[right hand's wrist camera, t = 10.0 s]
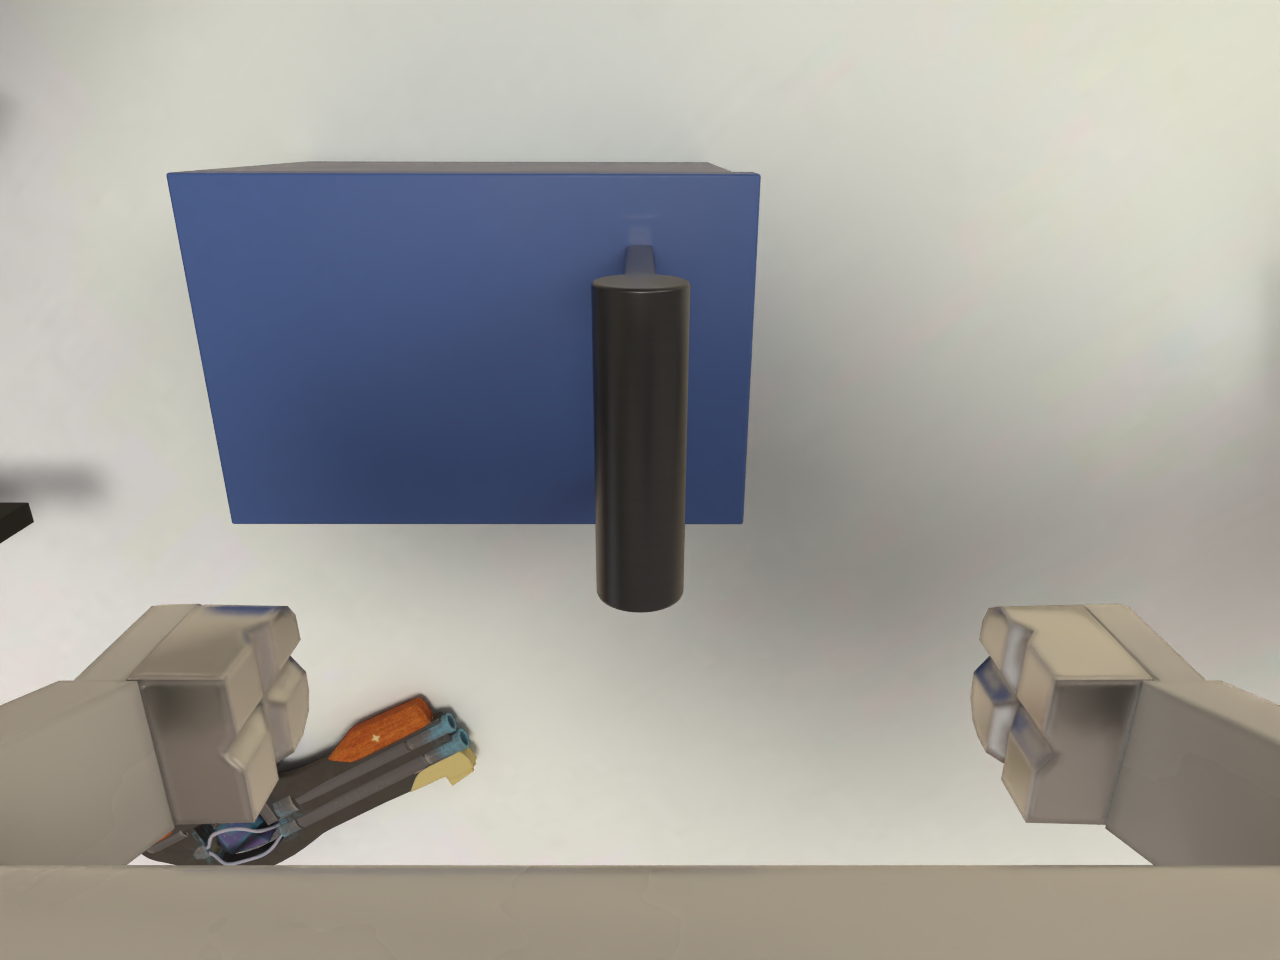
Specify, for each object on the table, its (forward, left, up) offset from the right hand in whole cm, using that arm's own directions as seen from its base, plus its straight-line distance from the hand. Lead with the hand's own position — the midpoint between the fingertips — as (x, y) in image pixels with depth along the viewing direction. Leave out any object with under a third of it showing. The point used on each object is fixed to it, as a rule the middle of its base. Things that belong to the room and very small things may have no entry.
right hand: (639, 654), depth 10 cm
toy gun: (-9, +26, -25) cm, 37 cm away
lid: (+2, +4, -16) cm, 17 cm away
